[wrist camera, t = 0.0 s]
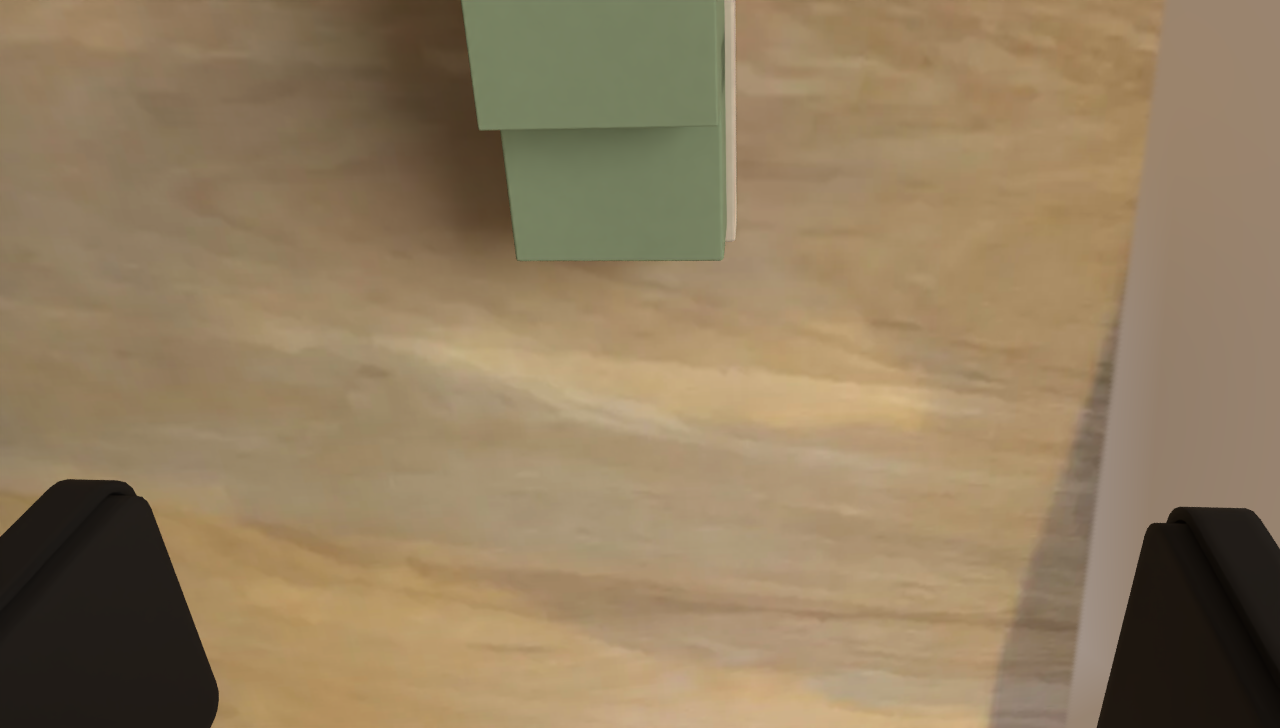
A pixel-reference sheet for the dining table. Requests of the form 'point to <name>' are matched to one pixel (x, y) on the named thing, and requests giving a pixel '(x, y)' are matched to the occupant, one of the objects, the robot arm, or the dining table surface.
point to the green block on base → (611, 124)
